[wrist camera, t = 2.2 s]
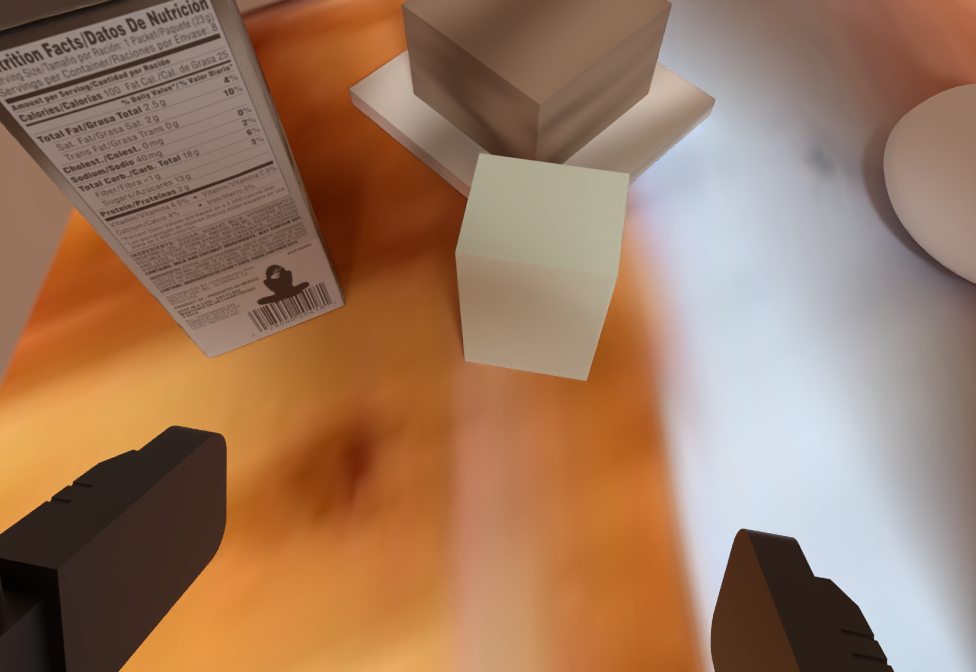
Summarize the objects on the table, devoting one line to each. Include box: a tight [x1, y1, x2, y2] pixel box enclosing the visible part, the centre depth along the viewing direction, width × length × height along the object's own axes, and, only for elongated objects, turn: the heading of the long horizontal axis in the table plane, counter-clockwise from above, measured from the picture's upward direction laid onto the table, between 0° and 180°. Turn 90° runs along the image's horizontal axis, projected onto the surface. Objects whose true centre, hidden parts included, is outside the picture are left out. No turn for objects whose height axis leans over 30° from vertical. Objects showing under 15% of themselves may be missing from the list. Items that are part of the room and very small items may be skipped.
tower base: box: [349, 0, 716, 199], centre depth 32 cm, size 13×12×6 cm
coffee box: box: [0, 0, 345, 358], centre depth 24 cm, size 9×6×16 cm
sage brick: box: [455, 153, 630, 381], centre depth 26 cm, size 5×4×8 cm
